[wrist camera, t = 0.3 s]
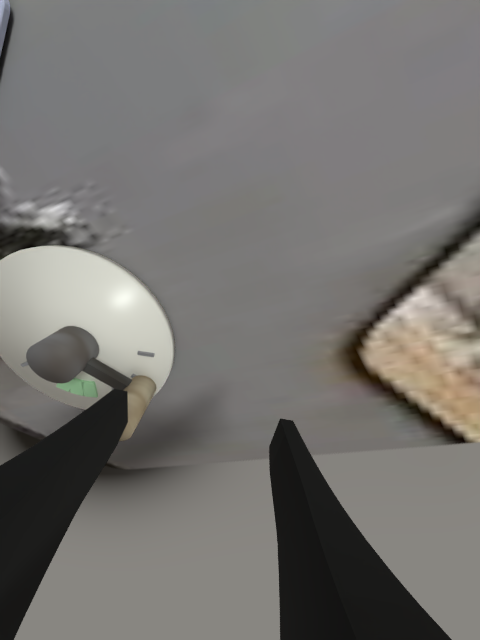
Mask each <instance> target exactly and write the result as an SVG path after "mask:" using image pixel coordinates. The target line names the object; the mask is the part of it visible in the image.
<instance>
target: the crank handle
mask: <svg viewBox="0 0 480 640" xmlns="http://www.w3.org/2000/svg"><path fill="white" fill-rule="evenodd" d="M98 354H99V345H98V343H97V341H96V339H95V338H94V337H93V336H92V335H91V334H90V333H89V332H88V331H86V330H84V329H82V328H80V327H76V326H66V327H63V328H61V329H59V330H58V331H56V332H54V333H53V334H51V335H49V336H48V337H46V338H44V339H42V340H41V341H39V342H37V343H36V344H34V345H32V346H31V347H30V348H29V349H28V350H27V353H26V359H27V362H28V365H29V366H30V368H31V369H32V370H33V371H34V372H35V373H36V374H37V375H38V376H40V377H41V378H43V379H45V380H47V381H49V382H53V383H67V382H70V381H71V380H72V379H74V378H75V377H76V376H77V375H78V374H79V373H80V372H81V371H84V372H85V373H87V374H89V375H91V376H92V377H94V378H96V379H98V380H100V381H101V382H103V383H105V384H107V385H109V386H110V387H112V388H114V389H118V390H123V391H127V392H128V423H127V425H126V428H125V430H124V432H123V434H122V436H121V438H120V440H119V441H124V440H127V439H129V438H130V437H131V436H132V434H133V432H134V430H135V429H136V427H137V425H138V423H139V421H140V419H141V418H142V416H143V414H144V412H145V410H146V408H147V406H148V405H149V403H150V401H151V399H152V397H153V395H154V394H155V392H156V388H157V387H156V384H155V382H154V381H153V380H152V379H151V378H149V377H147V376H143V375H138V376H135V377H133V378H132V379H130V378H128V377H126V376H125V375H123V374H121V373H119V372H118V371H116V370H114V369H113V368H111V367H109V366H107V365H106V364H104V363H102V362H100V361H99V360H97V359H95V358H96V357H97V356H98Z"/></svg>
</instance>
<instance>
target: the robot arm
mask: <svg viewBox="0 0 480 640" xmlns="http://www.w3.org/2000/svg"><path fill="white" fill-rule="evenodd" d="M9 15H10V4H9V1H8V0H0V56H1V52H2V47H3V42H4V38H5V33H6V29H7V24H8V20H9ZM127 423H128V392H127V391H123V390H118V389H113V390H112V391H110V392H109V393H108V394H106V395H105V396H104V397H102V398H101V399H100V400H98V401H97V402H96V403H94V404H93V405H92V406H90V407H89V408H88V409H86V410H85V411H84V412H82V413H81V414H79V415H78V416H77V417H75V418H74V419H72V420H71V421H70V422H68V423H67V424H65V425H64V426H62V427H61V428H60V429H58V430H57V431H55V432H53V433H52V434H50V435H49V436H47V437H46V438H44V439H43V440H41V441H40V442H39V443H37V444H35V445H34V446H32V447H31V448H29V449H28V450H26V451H24V452H23V453H21V454H19V455H18V456H16V457H14V458H13V459H11V460H9V461H7V462H6V463H4V464H3V465H1V466H0V640H14V638H15V635H16V633H17V631H18V629H19V626H20V625H21V622H22V620H23V618H24V616H25V614H26V612H27V610H28V608H29V606H30V603H31V602H32V599H33V597H34V595H35V593H36V591H37V589H38V587H39V585H40V583H41V581H42V579H43V577H44V574H45V572H46V570H47V569H48V567H49V564H50V563H51V561H52V558H53V556H54V555H55V553H56V551H57V549H58V547H59V544H60V542H61V541H62V539H63V537H64V535H65V533H66V531H67V529H68V527H69V525H70V523H71V521H72V519H73V517H74V516H75V514H76V512H77V510H78V508H79V507H80V505H81V503H82V501H83V500H84V498H85V496H86V495H87V493H88V492H89V490H90V488H91V487H92V485H93V483H94V482H95V480H96V479H97V477H98V475H99V474H100V472H101V470H102V469H103V467H104V466H105V464H106V462H107V461H108V459H109V458H110V456H111V454H112V453H113V451H114V449H115V448H116V446H117V444H118V442H119V440H120V438H121V436H122V434H123V432H124V430H125V428H126V425H127ZM269 460H270V478H271V487H272V495H273V504H274V512H275V521H276V529H277V541H278V561H279V563H278V564H279V593H280V594H279V595H280V640H451V639H450V637H449V636H448V635H447V634H446V633H445V632H444V631H443V630H442V629H441V628H440V626H439V625H438V624H437V623H436V622H435V621H434V620H433V619H432V618H431V617H430V616H429V615H428V613H427V612H426V611H425V610H424V609H423V608H422V607H421V606H420V605H419V603H418V602H417V601H416V600H415V599H414V598H413V597H412V595H411V594H410V593H409V592H408V591H407V590H406V589H405V587H404V586H403V585H402V584H401V583H400V581H399V580H398V579H397V578H396V577H395V575H394V574H393V573H392V572H391V571H390V569H389V568H388V567H387V566H386V564H385V563H384V562H383V560H382V559H381V558H380V557H379V555H378V554H377V553H376V552H375V550H374V549H373V548H372V547H371V545H370V544H369V543H368V542H367V541H366V539H365V538H364V536H363V535H362V534H361V532H360V531H359V530H358V528H357V527H356V525H355V524H354V523H353V521H352V520H351V518H350V517H349V516H348V514H347V513H346V511H345V510H344V508H343V507H342V506H341V504H340V502H339V501H338V500H337V498H336V496H335V495H334V493H333V492H332V490H331V488H330V487H329V485H328V484H327V482H326V480H325V479H324V477H323V475H322V474H321V472H320V470H319V468H318V467H317V465H316V463H315V462H314V460H313V458H312V456H311V454H310V452H309V451H308V449H307V447H306V445H305V443H304V441H303V439H302V437H301V435H300V434H299V432H298V430H297V428H296V426H295V424H294V422H293V421H291V420H286V419H280V421H279V423H278V426H277V428H276V431H275V433H274V436H273V439H272V441H271V444H270V446H269Z"/></svg>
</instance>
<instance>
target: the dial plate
mask: <svg viewBox="0 0 480 640" xmlns="http://www.w3.org/2000/svg"><path fill="white" fill-rule="evenodd" d="M66 326H76V327H80V328H82V329H84V330H86V331H88V332H89V333H90V334H91V335H92V336H93V337H94V338H95V339H96V341H97V343H98V345H99V354H98V356H97V357H96V358H95V359H97V360H99V361H100V362H102V363H104V364H106V365H107V366H109V367H111V368H113V369H114V370H116V371H118V372H119V373H121V374H123V375H125V376H126V377H128V378H130V379H132V378H133V377H135V376H138V375H143V376H147V377H149V378H151V379H152V380H153V381H154V382H155V384H156V387H157V388H156V392H155V394H154V395H153V397H154V396H155V395H156V394H157V393H158V392H159V391H160V389H161V388H162V386H163V385H164V384H165V382H166V380H167V378H168V376H169V374H170V372H171V369H172V366H173V363H174V358H175V339H174V334H173V330H172V327H171V324H170V321H169V319H168V317H167V315H166V313H165V311H164V309H163V307H162V306H161V304H160V302H159V301H158V299H157V298H156V297H155V295H154V294H153V293H152V292H151V291H150V289H149V288H148V287H147V286H146V285H145V284H144V283H143V282H142V281H141V280H140V279H139V278H138V277H136V276H135V275H134V274H132V273H131V272H130V271H129V270H127V269H126V268H124V267H123V266H121V265H120V264H118V263H116V262H115V261H113V260H111V259H109V258H107V257H105V256H103V255H101V254H98V253H95V252H92V251H89V250H86V249H82V248H78V247H73V246H63V245H50V246H40V247H33V248H28V249H23V250H20V251H17V252H15V253H12V254H10V255H8V256H6V257H5V258H3V259H2V260H0V356H1V358H2V359H3V360H4V362H5V363H6V364H7V365H8V366H9V367H10V368H11V369H12V370H13V371H14V372H15V373H16V374H17V375H18V376H19V377H20V378H21V379H23V380H24V381H25V382H27V383H28V384H29V385H30V386H32V387H33V388H35V389H36V390H38V391H39V392H41V393H43V394H45V395H47V396H48V397H50V398H52V399H55V400H57V401H59V402H61V403H64V404H67V405H69V406H73V407H76V408H80V409H85V410H86V409H88V408H89V407H90V406H92V405H93V404H94V403H96V402H97V401H98V400H100V399H101V398H102V397H104V396H105V395H106V394H108V393H109V392H110V391H112V390H113V389H114V388H112V387H110V386H109V385H107V384H105V383H103V382H101V381H100V380H98V379H96V378H94V377H92V376H91V375H89V374H87V373H85V372H84V371H81V372H80V373H79V374H78V375H77V376H76V377H75V378H74V379H72V380H71V381H70V382H67V383H53V382H49V381H47V380H45V379H43V378H41V377H40V376H38V375H37V374H36V373H35V372H34V371H33V370H32V369H31V368H30V366H29V365H28V362H27V359H26V353H27V350H28V349H29V348H30V347H31V346H32V345H34V344H36V343H37V342H39V341H41V340H42V339H44V338H46V337H48V336H49V335H51V334H53V333H54V332H56V331H58V330H59V329H61V328H63V327H66Z"/></svg>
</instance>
